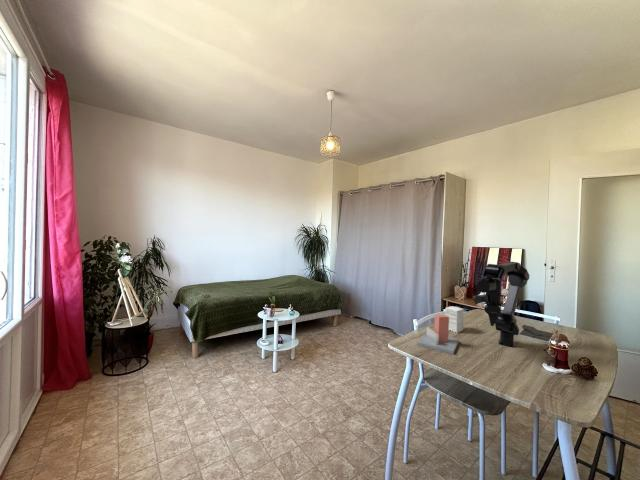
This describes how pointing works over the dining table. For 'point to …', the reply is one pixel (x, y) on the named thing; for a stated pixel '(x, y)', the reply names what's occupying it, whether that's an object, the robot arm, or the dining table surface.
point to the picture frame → (534, 334)
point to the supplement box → (455, 318)
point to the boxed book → (442, 327)
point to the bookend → (432, 335)
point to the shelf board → (439, 344)
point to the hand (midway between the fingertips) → (492, 323)
